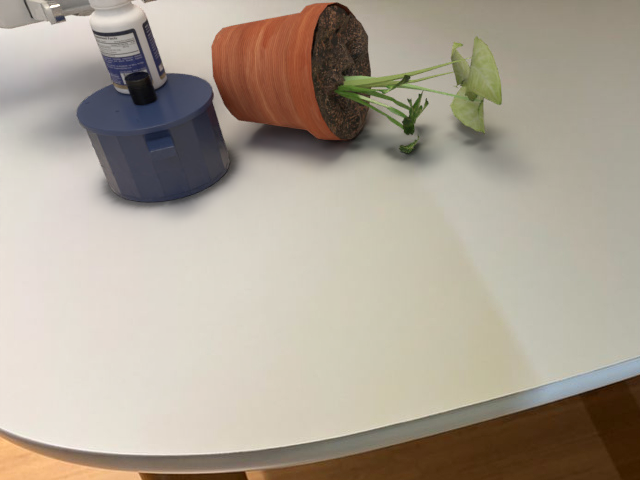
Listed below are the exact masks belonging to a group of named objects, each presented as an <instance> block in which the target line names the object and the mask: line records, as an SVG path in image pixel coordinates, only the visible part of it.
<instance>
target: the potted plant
mask: <svg viewBox="0 0 640 480" xmlns="http://www.w3.org/2000/svg"><path fill="white" fill-rule="evenodd" d="M452 43H453V44H452V48H451V53H450V61H449V62H446V63H445V62H444V63H442V64H441V63H440V64H438V65H434V66H429V67H426V68H422V69H417V70H413V71H408V72H403V73H397V74H390V75H385V76H378V77H375V76H372V70H371V69H372V68H371V60H370V54H369V35H368V33H367V31H366V29H365V27H364V26H363V24H362V22H361V21H360V20H359V19H358V18H357V17H356V16H355V14H354V13H353V12H352V10H350V8H349V7H348V6H346V5H345V4H342V3H340V2H338V1H335V2H333V1H332V2H316V3H312V4H308V5H305V6H304V8H302V10H301V11H300V12H297V13H291V14H286V15H280V16H276V17H275V16H274V17H269V18H264V19H260V20H254V21H249V22H243V23H238V24H234V25H229V26H225V27H222V28H221V29H220V30H219V31H218V32H217V33H216V34H215V36H214V39H213V41H212V44H211V47H210V48H211V49H210V50H211V65H212V78H213V80H214V83H215V86H216V88H217V91H218V93H219V96H220V98H221V100H222V104H223V105H224V107H225V108H226V109H227V110H228V112H229V113H230V114H231V116H233V117H234V118H235V119H236V120H237V121H239V122H248V123H257V124H263V125H269V126H275V127H276V126H277V127H282V128H289V129H297V130H304V131H307V132H308V133H310V135H312V136H313V137H315V138H316V139H317V140H324V141H350V140H353V138H355V137H356V136H358V135H359V134H360V132H361V130H362V129H363V127H364V125H365V123H366V120H367V116H368V113H369V110H370V109H371V110H373V111H375V112H377V113H379V114H381V115H382V116H384V117H385V118H386V119H388V120H389V121H390V122H391V123H392V124H394V125H396V126H397V127H399V128H400V129H402V130H403V133H404V135H406V136H410V135H411V136H413V135H414V134H415V131H416V130H415V125H416V123H417V119H418V118H419V116H421V114H423V112H424V111H425V110H426V108H427V107H428V105H430V104H429V103H430V102H429V100H428V98H427V97H426V98H425V99H424V104H423V105H422V104H421V102H422V97H423V93H424V91H425V92H430V93H436V94H440V95H444V96H448V97H453V99H452V101H451V103H450V105H449V107H450V109H451V112H452V114H453V116H454V117H455V118H456V119H457V120H458V121H460V122H461V124H462V125H464V126H465V127H467V128H470V129H472V130H473V131H475V132H477V133H479V132H480V133H482V134H484V135H485V134H486V130H485V129H486V128H485V113H484V101H485V99H486V100H487V101H488V102H489V101H490V102H492V103H493V104H495V105H498V106H501V105H502V104H503V95H502V81H501V76H500V73H499V68H498V67H497V66H498V65H497V63H496V60H495V57H494V55H493V53H492V51H491V49H490V47H489V45H488V44H487V43H486V42H484V40H483V39H482V38H479V36H477V35H476V36H475V37H474V39H473V46H472V53H471V56H470V57H466V58H464V57H463V56H462V55H461V53H460V52H459V51H458V48H461V47H463V46H464V43H461V42H455V41H454V42H452ZM469 59H470V65H469V62H468V61H467V60H469ZM449 65H452V69H453V71H448V72H443V73H439V74H433V75H429V76H425V77H421V78H416V79H411V78H412V77H414V76H417V75H420V74H421V75H422V74H424V73H427V72H431V71H433V70H437V69H439V68H442V67H446V66H449ZM449 74H454V77H455V81H456V85H453V87H455V88H456V89H459V90H458V91H457V92H456V94H453V93H449V92H445V91H440V90H435V89H431V88H428V87H423V86H419V85H416V84H414V83H420V82H422V81H427V80H430V79H433V78H437V77H441V76H446V75H449ZM458 86H460V88H459V87H458ZM378 88H379V89H378ZM395 89H407V90H408V89H409V90H416V91H421V93H418V95H417V96H418V97H417V99H416V100H415V101H414V103H413V100H412V98H407V103H409V105H407V104H406V103H403V102H402V101H399V100H397V99H396V98H395V97H392V96H389V95H387V93H389V92H391V91H393V90H395ZM371 97H375V98H379V99H382V100H386V101H390V102H393V103H394V104H395V105H396V106H399V108H400V107H401V108H403V109H404V110H407V111H408V116H407V114H405V113H404V112H403V111H401V110H399V109H397V108H395V107H394V106H390V105H387V104H385V103H383V102H380V101H377V100H376V99H373V98H371ZM370 103H371V104H370ZM372 104H374V105H377V106H380V107H382V108H386V109H387V110H388V111H389V112H391V113H393V114H394V115H397V116H399V117H401V118H403V119H402V120H401V122H400V121H398V120H397V119H396V118H394V117H393V116H391V115H389V114H387V113H386V112H384V111H382V110H380V109H379V108H377V107H376V106H374V105H372ZM420 137H421V136H420V135H419V134H417V138H416V139H414V140H413V142H411V143H408V144H405V145H403V144H400V145H399V147H398V150H399V151H400V152H401V153H404V154H409V153H411V151H413V150H414V148H415V146H416V144H418V141H419V139H420Z"/></svg>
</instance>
